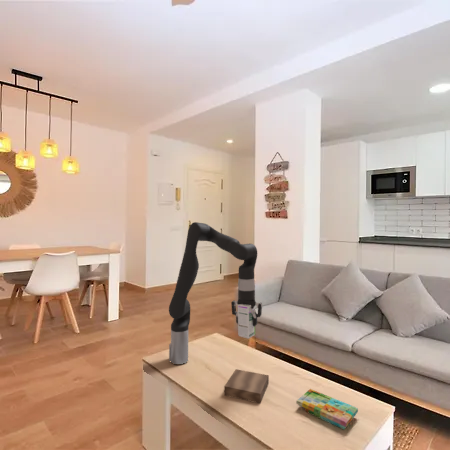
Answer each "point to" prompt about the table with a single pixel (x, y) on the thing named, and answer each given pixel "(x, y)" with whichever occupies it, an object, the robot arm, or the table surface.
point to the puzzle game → (327, 408)
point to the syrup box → (245, 321)
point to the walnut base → (247, 385)
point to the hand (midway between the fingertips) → (246, 324)
